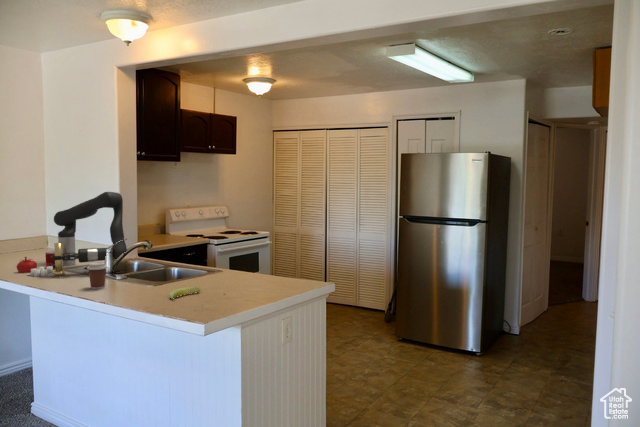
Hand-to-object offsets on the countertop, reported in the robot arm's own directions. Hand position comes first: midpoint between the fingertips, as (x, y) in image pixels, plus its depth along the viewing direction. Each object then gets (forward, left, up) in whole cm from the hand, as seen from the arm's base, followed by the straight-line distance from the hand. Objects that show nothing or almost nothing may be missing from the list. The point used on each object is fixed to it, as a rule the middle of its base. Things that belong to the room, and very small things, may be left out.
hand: (52, 257), depth 266 cm
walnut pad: (+2, +2, -11) cm, 11 cm away
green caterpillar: (+90, -2, -12) cm, 90 cm away
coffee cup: (+40, -6, -11) cm, 42 cm away
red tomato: (-26, +3, -11) cm, 29 cm away
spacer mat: (-9, +1, -11) cm, 15 cm away
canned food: (-20, +15, -11) cm, 28 cm away
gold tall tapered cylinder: (+2, +2, -9) cm, 10 cm away
